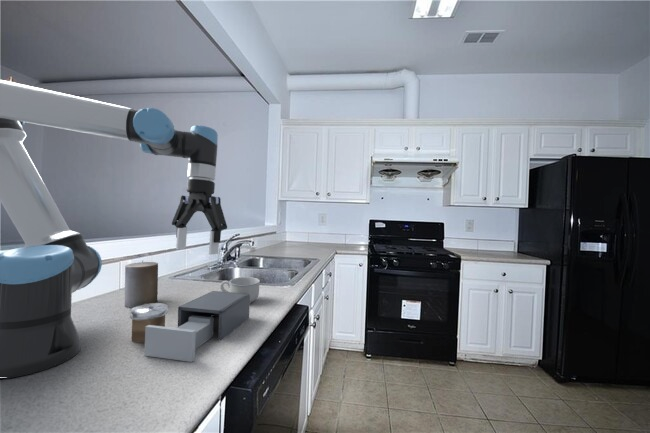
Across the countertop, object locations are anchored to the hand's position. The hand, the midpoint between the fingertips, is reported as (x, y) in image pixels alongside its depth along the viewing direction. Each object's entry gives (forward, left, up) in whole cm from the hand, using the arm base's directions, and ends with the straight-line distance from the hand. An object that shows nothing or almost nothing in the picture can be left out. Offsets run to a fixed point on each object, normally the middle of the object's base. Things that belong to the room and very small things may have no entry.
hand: (196, 251), depth 82 cm
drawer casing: (+4, -7, -21) cm, 22 cm away
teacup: (+17, +12, -21) cm, 30 cm away
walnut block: (-12, -6, -21) cm, 24 cm away
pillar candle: (-13, +26, -21) cm, 36 cm away
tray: (-4, -16, -20) cm, 26 cm away
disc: (-12, -6, -15) cm, 20 cm away
